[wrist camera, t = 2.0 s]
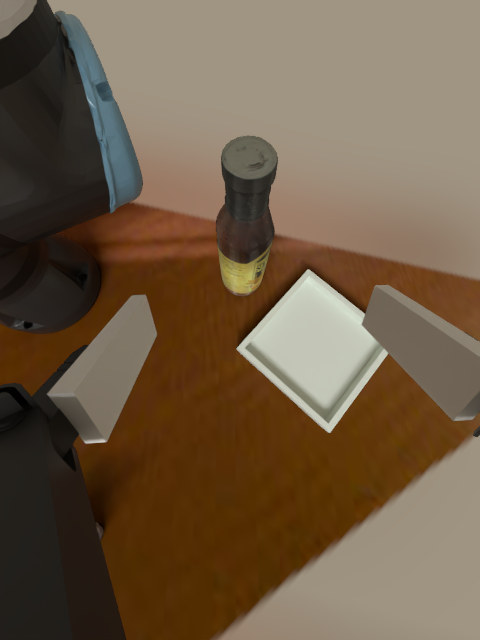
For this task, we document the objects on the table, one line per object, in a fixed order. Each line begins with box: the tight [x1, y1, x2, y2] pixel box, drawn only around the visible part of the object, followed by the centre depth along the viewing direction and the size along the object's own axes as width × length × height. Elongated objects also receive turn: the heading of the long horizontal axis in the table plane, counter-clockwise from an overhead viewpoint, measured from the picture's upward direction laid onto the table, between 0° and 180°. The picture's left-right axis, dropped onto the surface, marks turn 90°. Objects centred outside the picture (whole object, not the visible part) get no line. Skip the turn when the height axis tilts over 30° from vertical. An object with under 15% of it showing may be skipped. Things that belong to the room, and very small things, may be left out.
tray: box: [237, 269, 388, 433], centre depth 31 cm, size 16×16×2 cm
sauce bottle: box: [216, 136, 278, 296], centre depth 24 cm, size 7×6×20 cm
